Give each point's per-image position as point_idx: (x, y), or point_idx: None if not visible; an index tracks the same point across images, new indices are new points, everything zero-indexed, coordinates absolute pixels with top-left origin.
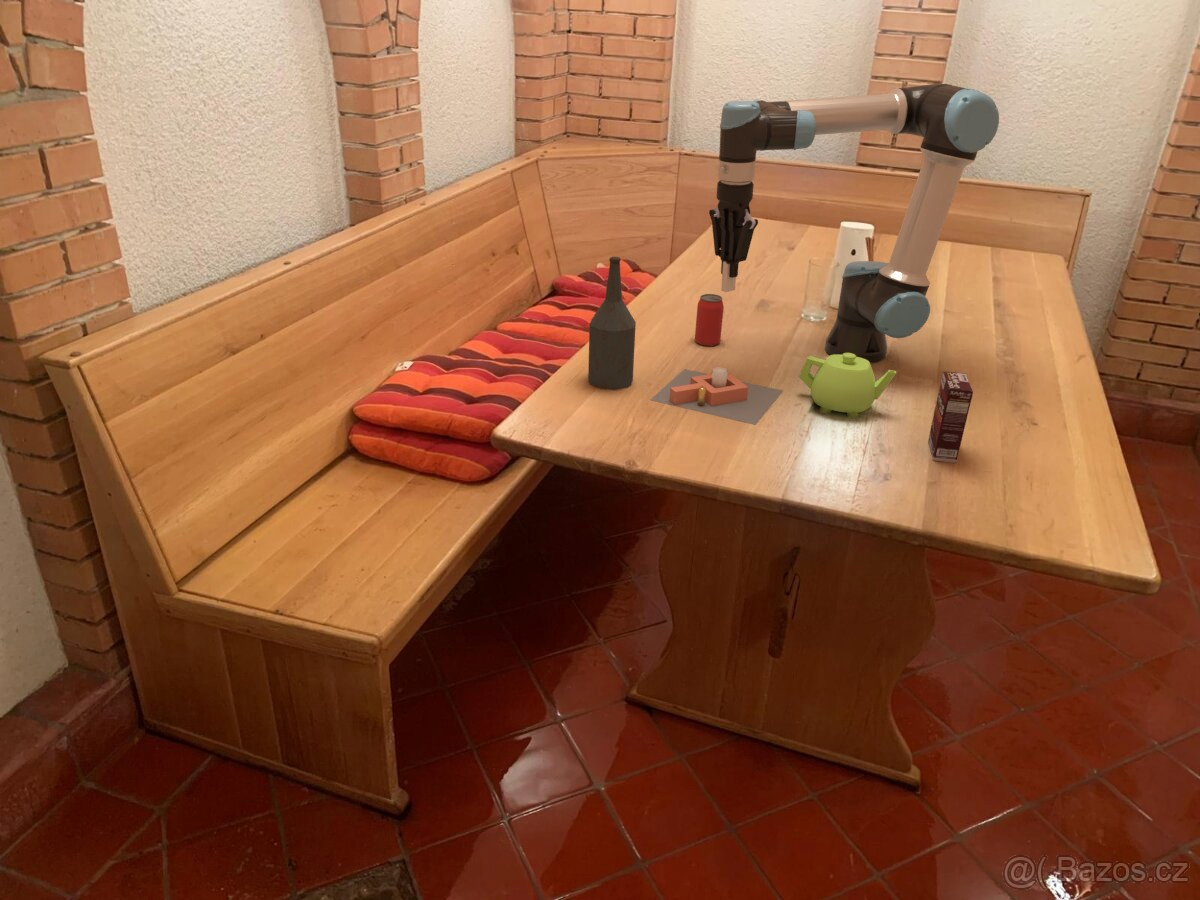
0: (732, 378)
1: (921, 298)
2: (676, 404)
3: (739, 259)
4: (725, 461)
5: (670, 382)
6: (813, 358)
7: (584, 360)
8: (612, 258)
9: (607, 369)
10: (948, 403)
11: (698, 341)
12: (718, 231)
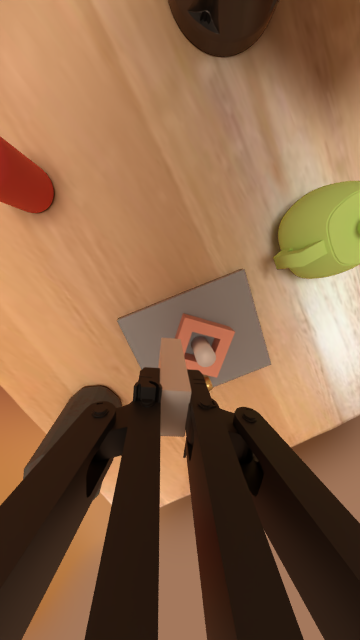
0: (204, 327)
1: None
2: None
3: (254, 457)
4: (280, 418)
5: (139, 362)
6: (309, 255)
7: (9, 385)
8: None
9: None
10: None
11: (32, 212)
12: (13, 635)
